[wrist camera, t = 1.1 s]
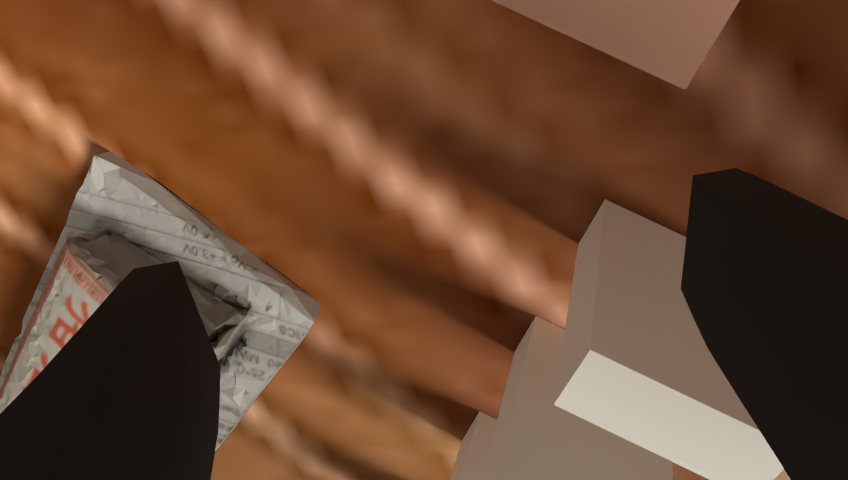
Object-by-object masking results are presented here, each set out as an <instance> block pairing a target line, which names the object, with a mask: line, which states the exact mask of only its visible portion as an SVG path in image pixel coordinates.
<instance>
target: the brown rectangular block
mask: <svg viewBox="0 0 848 480" xmlns="http://www.w3.org/2000/svg"><path fill="white" fill-rule="evenodd" d="M491 1H493V2H496V3H498V4H500V5H502V6H504V7H506V8H509V9H511V10H513V11H515V12H517V13H519V14H522V15H524V16H526V17H528V18H530V19H532V20H535V21H537V22H539V23H541V24H543V25H546V26H548V27H550V28H552V29H554V30H556V31H559V32H561V33H563V34H565V35H567V36H569V37H572V38H574V39H576V40H578V41H580V42H582V43H585V44H587V45H589V46H591V47H593V48H595V49H598V50H600V51H602V52H604V53H606V54H608V55H611V56H613V57H615V58H617V59H619V60H621V61H624V62H626V63H628V64H630V65H632V66H634V67H637V68H639V69H641V70H643V71H645V72H647V73H650V74H652V75H654V76H656V77H658V78H660V79H663V80H665V81H667V82H669V83H671V84H674V85H676V86H678V87H680V88H682V89H684V90H686V89H687V87H688V85H689V84H690V82H691V80H692V79H693V77H694V75H695V74H696V72H697V70H698V69H699V67H700V66H701V64H702V62H703V61H704V59H705V57H706V56H707V54H708V52H709V51H710V49H711V47H712V46H713V44H714V42H715V41H716V39H717V37H718V36H719V34H720V32H721V31H722V29H723V27H724V26H725V24H726V23H727V21H728V19H729V18H730V16H731V14H732V13H733V11H734V9H735V8H736V6H737V4H738V3H739V1H740V0H491Z"/></svg>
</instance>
